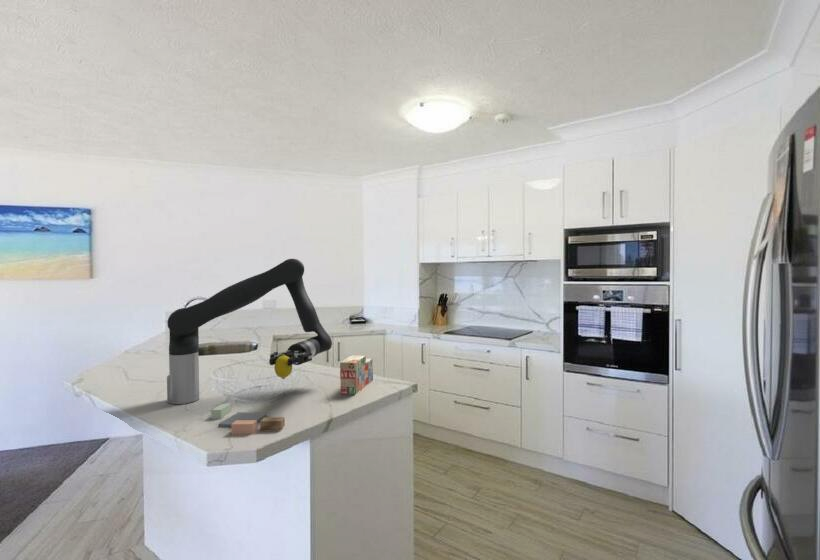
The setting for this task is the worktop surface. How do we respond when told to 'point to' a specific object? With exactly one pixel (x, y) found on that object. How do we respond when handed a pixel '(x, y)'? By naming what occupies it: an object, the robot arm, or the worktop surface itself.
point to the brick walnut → (272, 423)
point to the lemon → (282, 367)
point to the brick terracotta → (244, 427)
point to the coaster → (242, 418)
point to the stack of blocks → (355, 374)
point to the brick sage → (221, 411)
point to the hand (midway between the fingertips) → (279, 362)
